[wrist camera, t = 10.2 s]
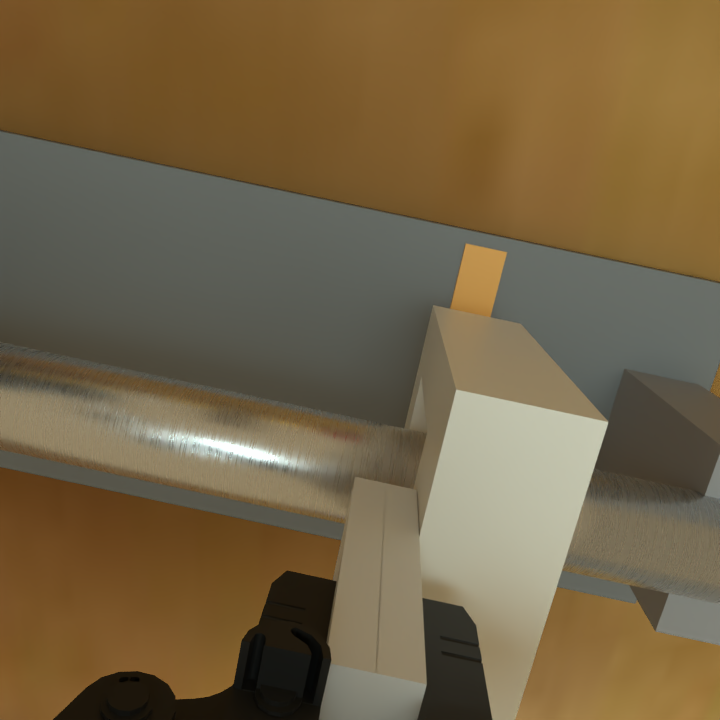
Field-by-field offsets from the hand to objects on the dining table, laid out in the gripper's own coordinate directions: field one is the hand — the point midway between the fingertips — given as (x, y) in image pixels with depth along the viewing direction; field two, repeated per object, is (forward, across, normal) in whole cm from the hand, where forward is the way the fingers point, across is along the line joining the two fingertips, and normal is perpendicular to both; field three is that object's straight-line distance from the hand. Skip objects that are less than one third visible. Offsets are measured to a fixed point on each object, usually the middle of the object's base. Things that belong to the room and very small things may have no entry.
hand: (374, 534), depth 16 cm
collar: (+8, +2, 0) cm, 8 cm away
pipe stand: (+13, -5, 0) cm, 14 cm away
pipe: (+5, -5, 0) cm, 7 cm away
